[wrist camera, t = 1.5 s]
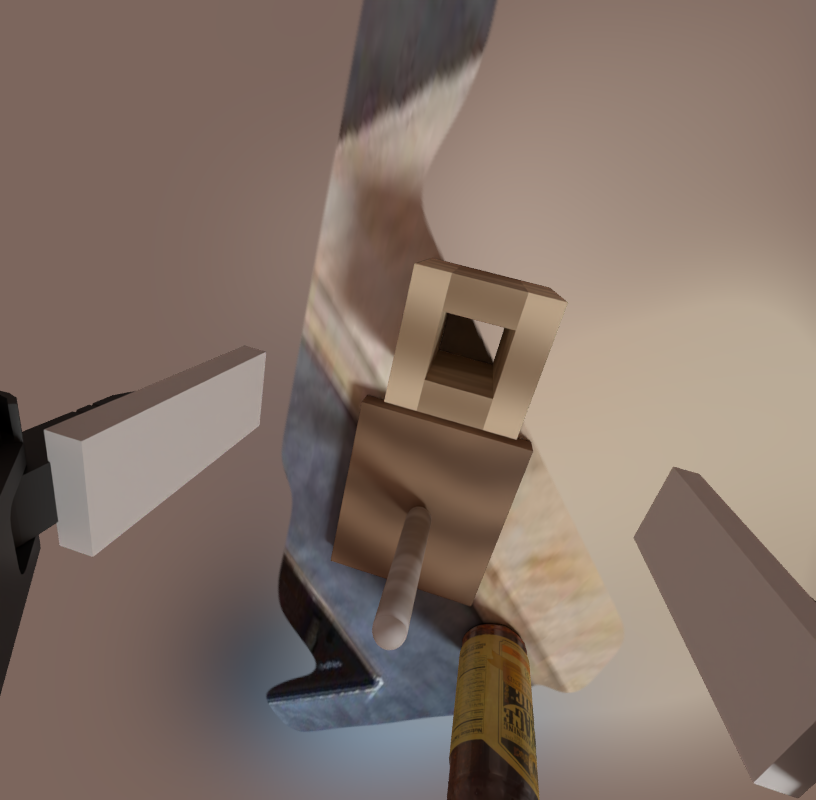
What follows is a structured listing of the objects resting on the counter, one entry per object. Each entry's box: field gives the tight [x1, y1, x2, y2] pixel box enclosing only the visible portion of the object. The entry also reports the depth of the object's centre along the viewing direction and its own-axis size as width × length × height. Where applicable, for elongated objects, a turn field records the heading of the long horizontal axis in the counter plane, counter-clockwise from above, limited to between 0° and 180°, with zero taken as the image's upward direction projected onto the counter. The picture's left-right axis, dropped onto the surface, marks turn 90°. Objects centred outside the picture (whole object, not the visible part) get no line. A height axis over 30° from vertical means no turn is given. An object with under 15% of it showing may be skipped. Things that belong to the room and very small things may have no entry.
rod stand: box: [331, 395, 533, 650], centre depth 29 cm, size 16×13×14 cm
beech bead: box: [384, 258, 568, 440], centre depth 26 cm, size 8×8×7 cm
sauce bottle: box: [447, 624, 539, 800], centre depth 30 cm, size 7×6×20 cm
